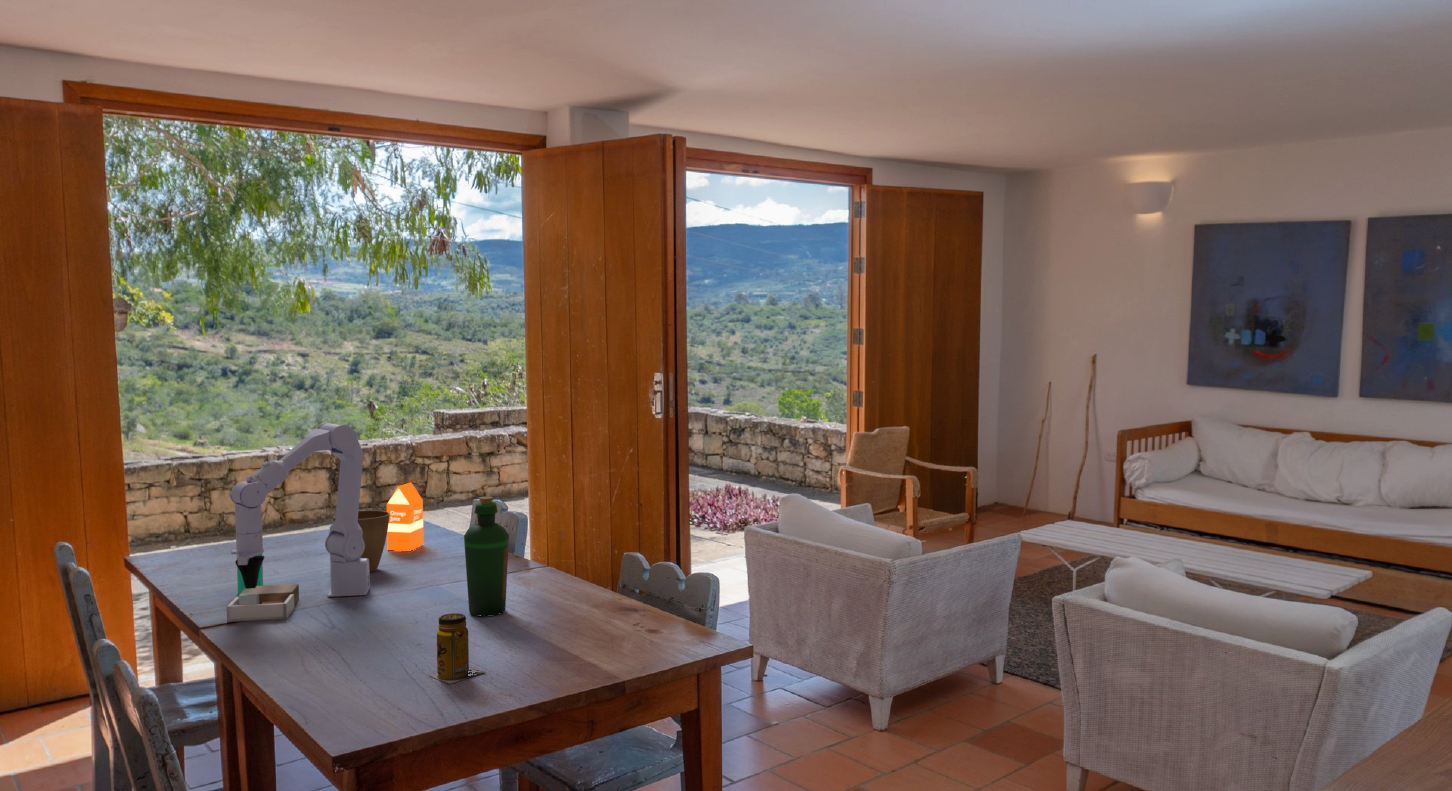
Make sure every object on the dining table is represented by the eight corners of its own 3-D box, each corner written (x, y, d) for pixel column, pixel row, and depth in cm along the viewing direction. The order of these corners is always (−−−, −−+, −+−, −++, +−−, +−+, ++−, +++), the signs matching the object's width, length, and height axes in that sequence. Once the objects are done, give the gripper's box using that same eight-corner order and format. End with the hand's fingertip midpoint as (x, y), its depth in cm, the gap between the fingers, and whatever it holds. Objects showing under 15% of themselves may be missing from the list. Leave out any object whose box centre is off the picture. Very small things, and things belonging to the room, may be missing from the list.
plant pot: (402, 568, 285) (401, 513, 284) (357, 579, 272) (356, 521, 271) (367, 561, 293) (366, 507, 292) (323, 572, 280) (322, 515, 279)
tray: (294, 608, 244) (294, 594, 244) (286, 618, 236) (286, 603, 236) (236, 611, 242) (236, 596, 241) (227, 621, 233) (226, 606, 233)
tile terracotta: (280, 601, 237) (279, 609, 236) (283, 602, 241) (283, 611, 240) (262, 602, 236) (261, 610, 235) (266, 603, 240) (265, 612, 239)
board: (299, 599, 252) (298, 583, 252) (292, 608, 245) (292, 592, 244) (247, 602, 250) (247, 586, 249) (239, 611, 242) (238, 594, 242)
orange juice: (386, 550, 307) (385, 486, 306) (400, 544, 316) (399, 481, 314) (410, 551, 306) (409, 487, 304) (424, 545, 314) (423, 482, 313)
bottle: (518, 609, 245) (517, 495, 243) (491, 620, 235) (489, 502, 233) (483, 604, 249) (482, 492, 247) (455, 615, 240) (453, 499, 238)
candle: (253, 596, 255) (251, 549, 254) (232, 594, 256) (231, 548, 256) (268, 590, 261) (267, 544, 260) (248, 588, 262) (246, 543, 261)
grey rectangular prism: (258, 593, 241) (256, 595, 239) (259, 609, 241) (256, 611, 239) (241, 593, 240) (238, 595, 239) (241, 610, 241) (239, 612, 239)
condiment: (428, 676, 198) (427, 616, 198) (464, 665, 205) (463, 607, 204) (449, 684, 194) (449, 623, 193) (486, 673, 200) (485, 614, 199)
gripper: (238, 526, 246) (240, 580, 247) (222, 539, 232) (224, 596, 233) (269, 525, 247) (271, 579, 248) (255, 537, 233) (257, 595, 234)
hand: (251, 587), depth 241 cm, fingers closed
